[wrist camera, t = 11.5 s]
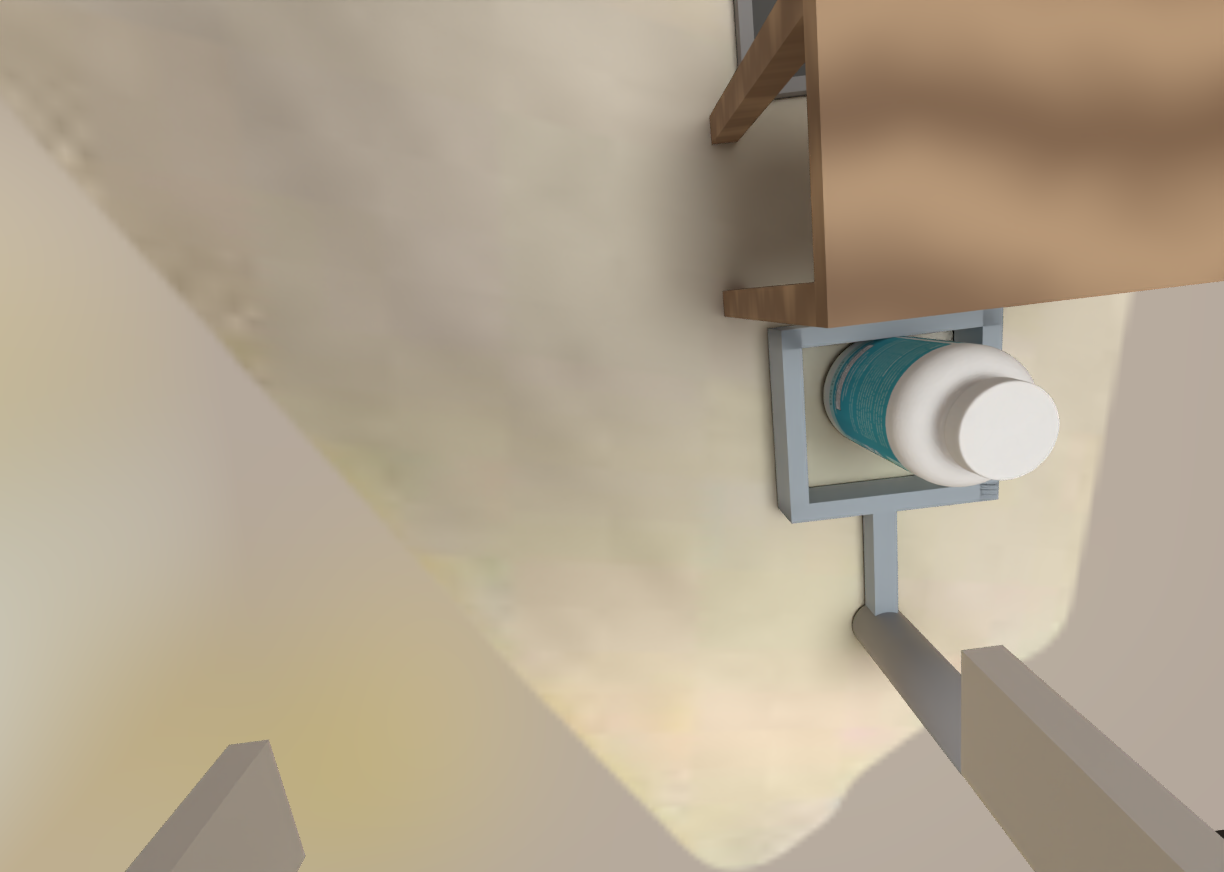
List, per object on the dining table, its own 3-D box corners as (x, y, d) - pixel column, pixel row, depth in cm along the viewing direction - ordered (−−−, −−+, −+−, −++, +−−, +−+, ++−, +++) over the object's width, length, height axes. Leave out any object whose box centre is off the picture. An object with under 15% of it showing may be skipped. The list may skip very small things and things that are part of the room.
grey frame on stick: (767, 328, 39) (848, 341, 26) (972, 303, 39) (1153, 304, 26) (787, 655, 44) (862, 798, 32) (968, 634, 44) (1116, 769, 31)
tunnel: (709, 116, 36) (813, -62, 19) (1018, 78, 36) (1421, -139, 18) (724, 316, 39) (828, 328, 21) (1012, 281, 39) (1360, 264, 21)
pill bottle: (823, 450, 41) (928, 520, 28) (815, 343, 39) (922, 363, 26) (932, 433, 41) (1089, 496, 28) (928, 325, 39) (1093, 336, 26)
